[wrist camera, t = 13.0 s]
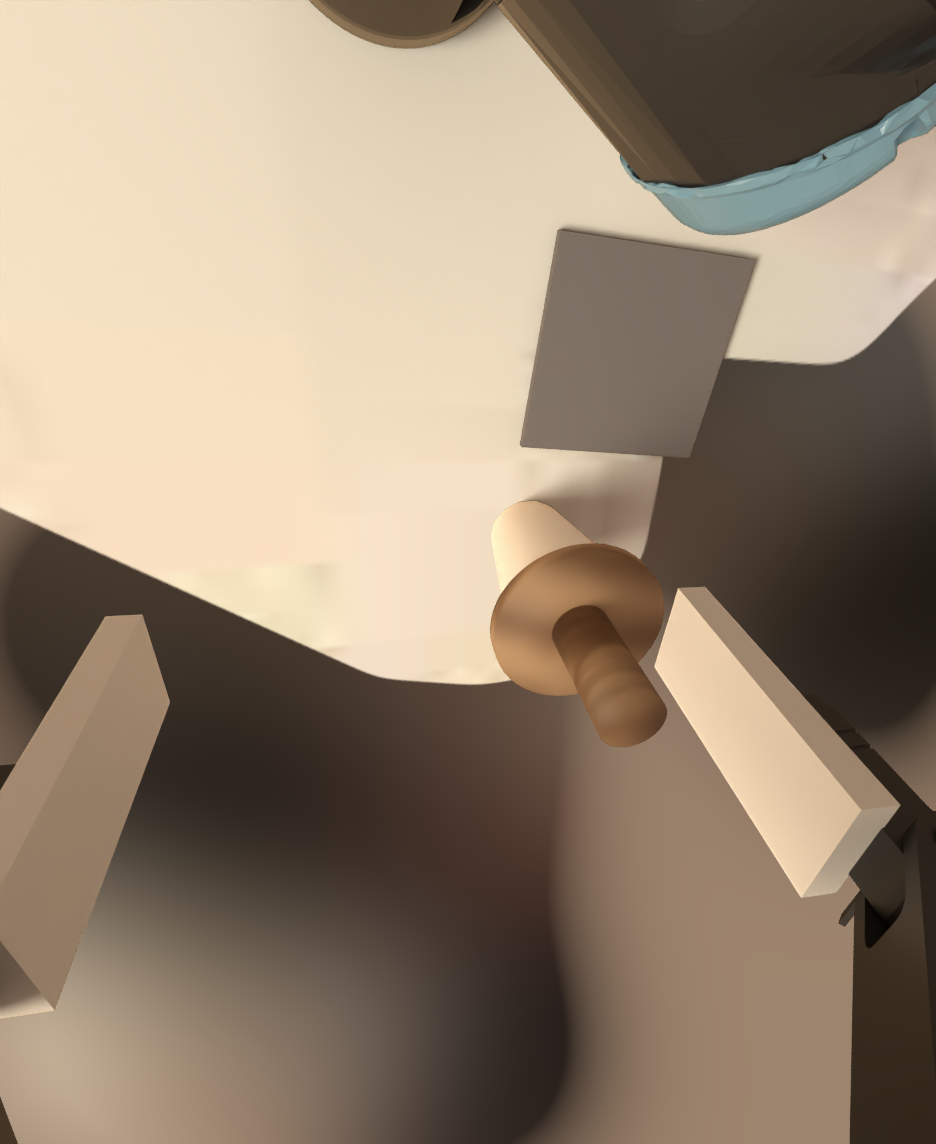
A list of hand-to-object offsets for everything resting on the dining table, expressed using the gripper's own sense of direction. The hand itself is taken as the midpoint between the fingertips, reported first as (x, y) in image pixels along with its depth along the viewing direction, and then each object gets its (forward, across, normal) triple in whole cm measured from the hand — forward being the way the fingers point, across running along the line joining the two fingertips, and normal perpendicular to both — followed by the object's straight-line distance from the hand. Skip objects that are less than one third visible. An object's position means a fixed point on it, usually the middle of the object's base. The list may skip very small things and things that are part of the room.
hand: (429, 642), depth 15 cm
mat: (+32, +19, 0) cm, 37 cm away
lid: (+19, +12, -14) cm, 27 cm away
